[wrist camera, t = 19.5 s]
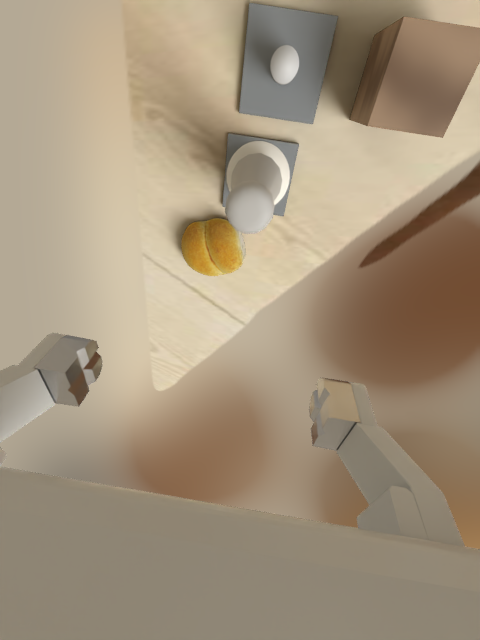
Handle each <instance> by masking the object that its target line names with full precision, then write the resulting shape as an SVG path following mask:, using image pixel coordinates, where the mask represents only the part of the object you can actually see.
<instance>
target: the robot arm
mask: <svg viewBox="0 0 480 640" xmlns="http://www.w3.org/2000/svg"><path fill="white" fill-rule="evenodd" d="M98 348H99V347H98V345H97V342H96V341H94V340H90V339H85V338H79V337H74V336H69V335H63V334H57V333H51V334H49V335H47V336H46V337H45V338H44V339H43V340H42V341H41V342H40V343H39V344H38V346H36V348H35V349H33V350H32V352H31V353H30V354H29V355H28V356H27V357H26V358H25V359H24V360H23V361H22V362H21V363H20V364H19V365H18V366H15V365H12V366H10V367H8V368H6V369H3V370H1V371H0V442H2V441H3V440H4V439H6V438H7V437H9V436H10V435H12V434H13V433H15V432H16V431H18V430H19V429H20V428H22V427H23V426H25V425H26V424H27V423H29V422H31V421H32V420H33V419H35V418H36V417H38V416H39V415H40V414H42V413H44V412H45V411H46V410H48V409H49V408H51V407H52V406H54V405H55V403H57V404H64V405H72V406H80V404H81V403H82V401H83V400H84V398H85V397H86V395H87V394H88V392H89V387H88V385H90V384H91V383H93V382H95V381H96V380H97V378H98V376H99V375H100V372H101V369H102V359H101V356H100V355H99V354H98V353H97V352H96V350H97V349H98ZM309 408H310V409H309V412H310V418H311V419H312V420H313V422H314V423H313V425H312V427H311V434H312V444H313V446H315V447H320V448H325V449H331V450H335V451H337V454H338V455H339V457H340V458H341V460H342V462H343V463H344V465H345V467H346V468H347V470H348V471H349V473H350V475H351V476H352V478H353V479H354V481H355V483H356V484H357V486H358V487H359V489H360V491H361V492H362V494H363V495H364V497H365V499H366V500H367V502H368V503H369V505H370V506H368V507H367V508H366V509H365V510H364V511H363V512H362V513H361V514H359V516H358V517H357V523H358V528H353V527H347V526H342V525H336V524H330V523H325V522H319V521H313V520H307V519H301V518H295V517H290V516H284V515H278V514H272V513H267V512H261V511H255V510H249V509H243V508H238V507H232V506H225V505H220V504H214V503H209V502H203V501H197V500H191V499H186V498H180V497H174V496H168V495H162V494H157V493H151V492H145V491H139V490H133V489H128V488H121V487H116V486H110V485H104V484H99V483H93V482H87V481H81V480H75V479H70V478H63V477H58V476H52V475H46V474H41V473H34V472H28V471H22V470H17V469H12V468H6V467H0V640H480V549H475V548H469V547H465V545H464V543H463V541H462V538H461V536H460V533H459V531H458V528H457V526H456V523H455V521H454V518H453V516H452V514H451V511H450V509H449V506H448V504H447V501H446V499H445V496H444V494H443V493H442V491H441V490H440V489H439V488H438V487H437V486H436V485H435V484H434V483H433V482H432V481H431V479H430V478H429V477H428V476H427V475H426V474H425V473H424V472H423V471H422V470H421V469H420V468H419V467H418V466H417V464H416V463H415V462H414V461H413V460H412V459H411V458H410V457H409V456H408V455H407V454H406V452H405V451H404V450H403V449H402V448H401V447H400V446H399V445H398V444H397V443H396V442H395V441H394V439H393V438H392V437H391V436H390V435H389V434H388V433H387V432H386V431H385V430H384V429H383V428H382V427H379V426H377V422H376V419H375V416H374V412H373V409H372V406H371V403H370V399H369V396H368V393H367V389H366V387H365V385H363V384H358V383H352V382H347V381H340V380H334V379H327V378H320V379H319V380H318V383H317V390H315V391H314V392H313V394H312V396H311V399H310V406H309ZM5 459H6V453H5V452H4V451H3V450H2V449H1V447H0V465H1V464H2V463H3V461H4V460H5Z"/></svg>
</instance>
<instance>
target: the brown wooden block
mask: <svg viewBox="0 0 480 640" xmlns="http://www.w3.org/2000/svg"><path fill="white" fill-rule="evenodd" d="M479 62H480V28H477V27H470V26H464V25H457V24H450V23H444V22H437V21H430V20H424V19H417V18H410V17H403V18H401V19H400V20H398V21H396V22H395V23H393V24H392V25H390V26H388V27H387V28H385V29H384V30H382V31H381V32H379V33H377V34H376V35H375V36H374V39H373V42H372V46H371V49H370V52H369V56H368V59H367V62H366V66H365V69H364V72H363V76H362V79H361V82H360V86H359V89H358V93H357V96H356V99H355V103H354V106H353V109H352V113H351V116H350V119H349V120H352V121H355V122H358V123H360V124H363V125H366V126H371V127H377V128H384V129H390V130H397V131H403V132H409V133H416V134H422V135H429V136H435V137H442V138H443V136H444V134H445V132H446V130H447V128H448V126H449V124H450V122H451V120H452V118H453V116H454V114H455V112H456V110H457V107H458V105H459V103H460V101H461V99H462V97H463V95H464V93H465V91H466V89H467V87H468V85H469V83H470V81H471V79H472V77H473V75H474V73H475V70H476V68H477V66H478V64H479Z"/></svg>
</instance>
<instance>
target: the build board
mask: <svg viewBox="0 0 480 640" xmlns="http://www.w3.org/2000/svg"><path fill="white" fill-rule="evenodd" d="M298 147H299V144H297V143H290V142H284V141H277V140H271V139H264V138H258V137H252V136H245V135H239V134H232V133H228V142H227V155H226V168H225V181H224V194H223V207H226V199H227V197H228V195H229V193H230V192H231V177H232V171H233V170H234V168H235V166H236V164H237V162H238V161H239V160H241V159H242V158H244V157H245V156H247V155H248V154H256V153H262V154H264V155H266V156H268V157H270V158H272V159H273V160H274V161H275V163H276V164H277V165H278V166H279V168H280V172H281V177H282V185H281V190H280V193H279V195H278V196H277V197H276V199H275V200H274V205H275V208H274V213H273V215H279V216H284V212H285V207H286V202H287V198H288V193H289V188H290V184H291V179H292V175H293V170H294V165H295V161H296V156H297V151H298Z"/></svg>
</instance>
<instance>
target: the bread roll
mask: <svg viewBox="0 0 480 640" xmlns="http://www.w3.org/2000/svg"><path fill="white" fill-rule="evenodd" d="M181 248H182V254H183V257H184V259H185V261H186V262H187V264H188V265H189V266H190V267H191V268H192V269H194V270H195V271H197V272H199V273H201V274H204V275H208V276H218V275H223V274H228V273H232V272H234V271H235V270H237V269H238V268H240V267H241V265H242V264H243V261H244V258H245V255H246V250H245V243H244V239H243V236H242V232H240V231H237V230H236V229H235V228H234V227H233V226H232V225H231V224H230V223H229V221H228V220H226V219H220V218H214V219H210V220H208V221H198V222H193V223H191V224H190V225H189V226H188V227H187V228H186V230H185V232H184V234H183V237H182V245H181Z"/></svg>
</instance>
